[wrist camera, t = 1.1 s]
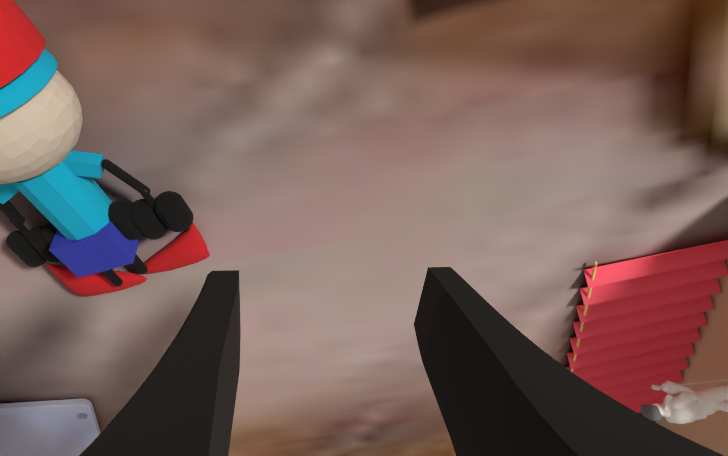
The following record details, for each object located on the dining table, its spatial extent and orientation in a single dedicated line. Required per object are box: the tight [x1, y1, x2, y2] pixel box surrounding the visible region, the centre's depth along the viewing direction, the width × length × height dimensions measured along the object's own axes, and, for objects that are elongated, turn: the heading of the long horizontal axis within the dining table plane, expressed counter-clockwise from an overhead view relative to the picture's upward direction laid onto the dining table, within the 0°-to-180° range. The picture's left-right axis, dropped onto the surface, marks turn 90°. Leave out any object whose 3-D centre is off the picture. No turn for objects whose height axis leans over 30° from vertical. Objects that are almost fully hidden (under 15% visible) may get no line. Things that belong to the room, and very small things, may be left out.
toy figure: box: [0, 0, 210, 296], centre depth 17 cm, size 8×5×15 cm
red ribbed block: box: [566, 240, 728, 456], centre depth 28 cm, size 25×13×12 cm, turn 7°
